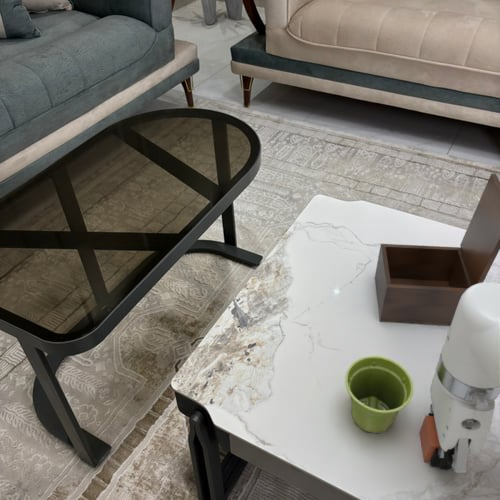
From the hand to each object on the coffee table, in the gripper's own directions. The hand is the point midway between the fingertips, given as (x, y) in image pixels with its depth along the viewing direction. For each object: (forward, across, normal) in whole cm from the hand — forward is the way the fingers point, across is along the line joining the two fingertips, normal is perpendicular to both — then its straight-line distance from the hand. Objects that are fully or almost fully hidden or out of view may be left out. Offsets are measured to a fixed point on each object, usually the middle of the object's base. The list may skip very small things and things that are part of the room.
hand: (438, 446), depth 72 cm
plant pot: (+1, +4, +9) cm, 10 cm away
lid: (-17, +30, -9) cm, 35 cm away
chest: (0, +30, -1) cm, 30 cm away
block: (0, 0, 0) cm, 0 cm away
